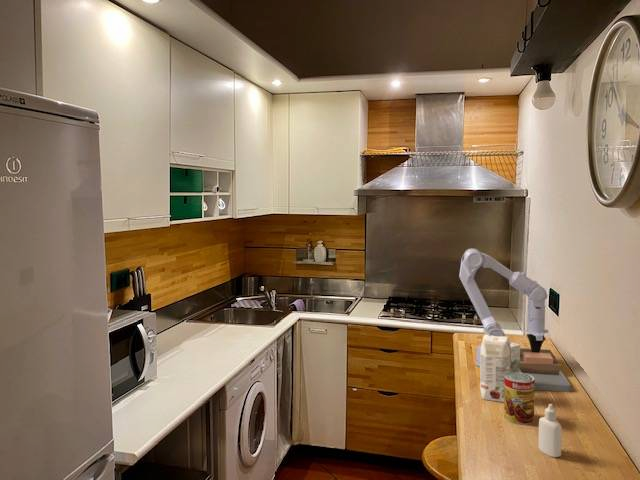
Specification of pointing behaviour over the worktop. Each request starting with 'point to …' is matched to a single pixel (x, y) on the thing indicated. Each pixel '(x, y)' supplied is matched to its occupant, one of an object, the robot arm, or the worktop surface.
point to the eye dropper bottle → (550, 433)
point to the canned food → (519, 398)
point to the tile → (537, 358)
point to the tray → (551, 382)
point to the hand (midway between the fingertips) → (535, 354)
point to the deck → (539, 368)
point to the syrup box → (515, 357)
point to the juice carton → (494, 366)
